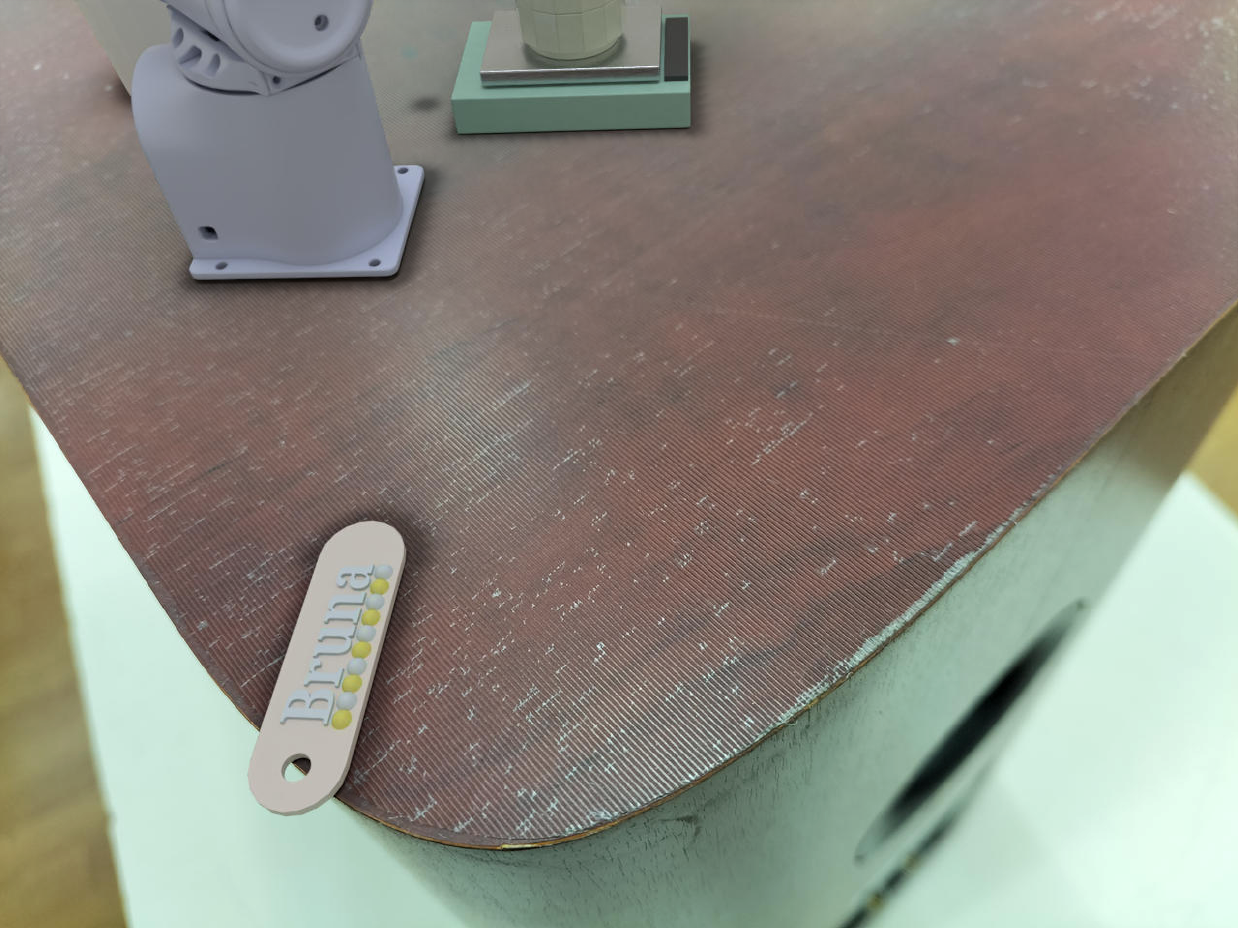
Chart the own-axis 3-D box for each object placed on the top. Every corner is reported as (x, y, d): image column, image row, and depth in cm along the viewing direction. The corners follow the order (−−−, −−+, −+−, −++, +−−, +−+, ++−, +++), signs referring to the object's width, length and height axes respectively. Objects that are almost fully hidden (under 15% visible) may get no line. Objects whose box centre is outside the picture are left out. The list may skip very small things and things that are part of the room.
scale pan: (481, 87, 51) (478, 72, 50) (496, 24, 55) (494, 10, 54) (660, 81, 50) (659, 66, 50) (661, 19, 54) (661, 4, 54)
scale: (457, 134, 52) (449, 93, 50) (477, 55, 57) (470, 15, 55) (690, 128, 51) (690, 86, 50) (689, 48, 56) (689, 7, 55)
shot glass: (206, 115, 55) (153, -14, 49) (93, 108, 56) (29, -20, 51) (259, 51, 59) (216, -75, 54) (153, 45, 60) (101, -78, 55)
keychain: (329, 810, 29) (229, 805, 29) (335, 818, 29) (237, 813, 30) (410, 516, 35) (328, 515, 36) (414, 526, 36) (334, 525, 36)
